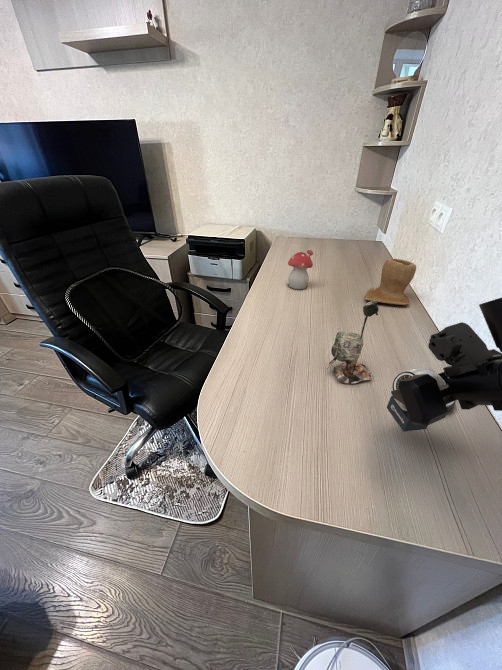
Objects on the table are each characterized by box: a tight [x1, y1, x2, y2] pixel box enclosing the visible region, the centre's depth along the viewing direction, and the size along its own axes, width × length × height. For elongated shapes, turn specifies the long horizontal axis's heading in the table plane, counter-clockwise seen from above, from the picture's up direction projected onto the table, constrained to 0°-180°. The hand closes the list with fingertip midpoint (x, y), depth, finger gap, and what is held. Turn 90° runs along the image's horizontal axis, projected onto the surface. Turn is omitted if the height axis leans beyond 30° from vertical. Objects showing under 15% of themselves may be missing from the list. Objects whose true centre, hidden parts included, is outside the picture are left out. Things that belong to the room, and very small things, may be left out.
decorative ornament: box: [287, 249, 314, 290], centre depth 107 cm, size 9×6×15 cm
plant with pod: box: [325, 300, 379, 384], centre depth 64 cm, size 8×11×20 cm
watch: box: [386, 367, 446, 433], centre depth 48 cm, size 6×8×11 cm
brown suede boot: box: [364, 257, 417, 306], centre depth 99 cm, size 15×12×15 cm
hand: (410, 386), depth 48 cm, fingers closed on watch, 8 cm apart
